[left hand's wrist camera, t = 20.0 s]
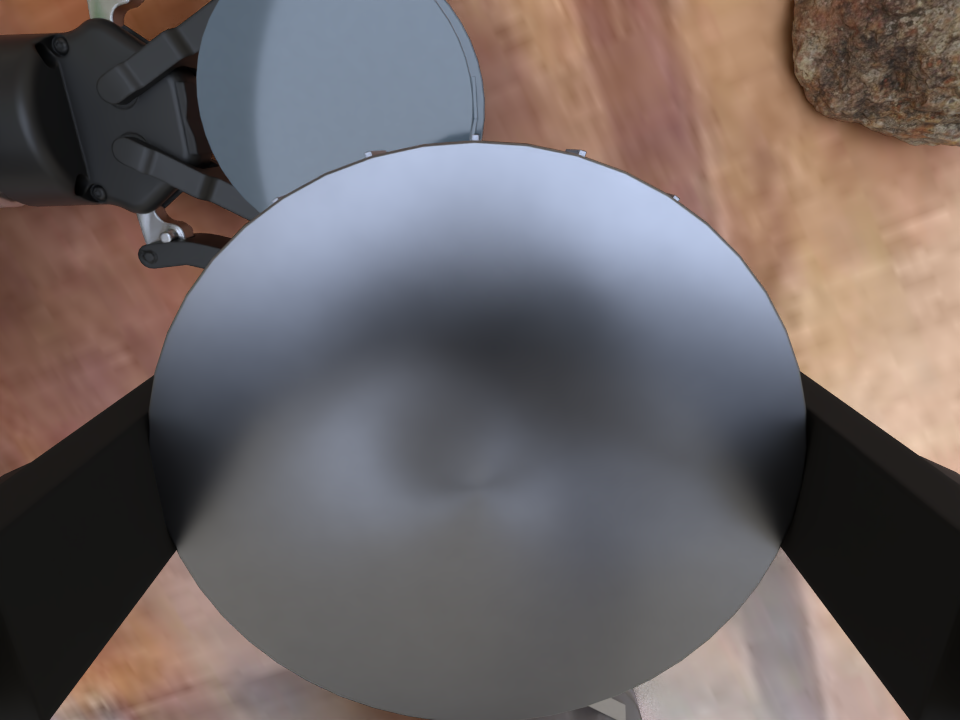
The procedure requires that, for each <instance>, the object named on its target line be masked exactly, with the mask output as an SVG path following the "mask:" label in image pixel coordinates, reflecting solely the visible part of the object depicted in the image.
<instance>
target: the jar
mask: <svg viewBox="0 0 960 720" xmlns="http://www.w3.org/2000/svg"><path fill="white" fill-rule="evenodd" d="M196 80H197V99H198V105H199V112H200V117H201V121H202V124H203V128H204V131H205V135H206V137H207V140H208V142H209V145H210V147H211V150H212V152H213V154H214V156H215V158H216V160H217V162H218V164H219V165H220V167H221V169H222V171H223V172H224V174H225V175H226V176H227V178H228V179H229V181H230V182H231V184H232V185H233V186H234V187H235V189H236V190H237V191H238V192H239V193H240V194H241V195H242V197H243V198H244V199H245V200H246V201H247V202H248V203H249V204H250V205H252V206H253V207H254V208H255V209H256V210H257V211H258V212H259V213H261V212H263V211H264V210H265V209H267V208H268V207H269V206H271V205H272V204H273V202H272V200H274V199H275V198H276V197H280V196H284V195H286V194H288V193H290V192H292V191H293V190H295V189H297V188H299V187H301V186H303V185H304V184H306V183H308V182H310V181H312V180H313V179H315V178H317V177H319V176H321V175H323V174H324V173H327V172H329V171H332V170H335V169H337V168H340V167H343V166H345V165H348V164H351V163H353V162H356V161H359V160H361V159H364V158H366V157H365V154H364V153H365V152H369V151H379V150H386V152H390V151H394V150H399V149H403V148H408V147H413V146H417V145H422V144H432V143H446V142H459V141H472V136H471V135H479V141H481V140H482V135H483V127H484V120H485V97H484V89H483V80H482V75H481V71H480V67H479V63H478V59H477V56H476V54H475V51H474V48H473V45H472V43H471V40H470V38H469V36H468V34H467V32H466V30H465V28H464V26H463V24H462V23H461V21H460V19H459V18H458V17H457V15H456V14H455V12H454V11H453V9H452V8H451V6H450V5H449V4H448V2H447V1H446V0H219V1H218V3H217V5H216V7H215V8H214V10H213V12H212V14H211V16H210V18H209V20H208V23H207V26H206V28H205V31H204V34H203V37H202V41H201V45H200V50H199V55H198V63H197V75H196Z"/></svg>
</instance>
